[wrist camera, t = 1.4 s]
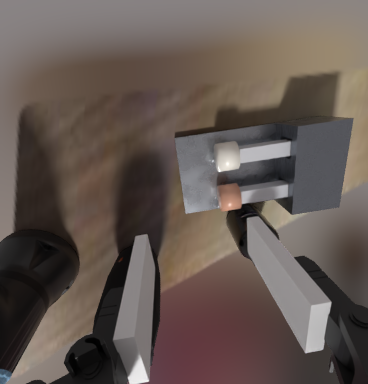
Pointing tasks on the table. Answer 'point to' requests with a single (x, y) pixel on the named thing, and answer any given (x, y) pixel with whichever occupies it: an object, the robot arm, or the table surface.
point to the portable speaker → (118, 280)
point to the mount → (271, 163)
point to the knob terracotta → (249, 193)
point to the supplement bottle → (244, 226)
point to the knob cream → (248, 153)
